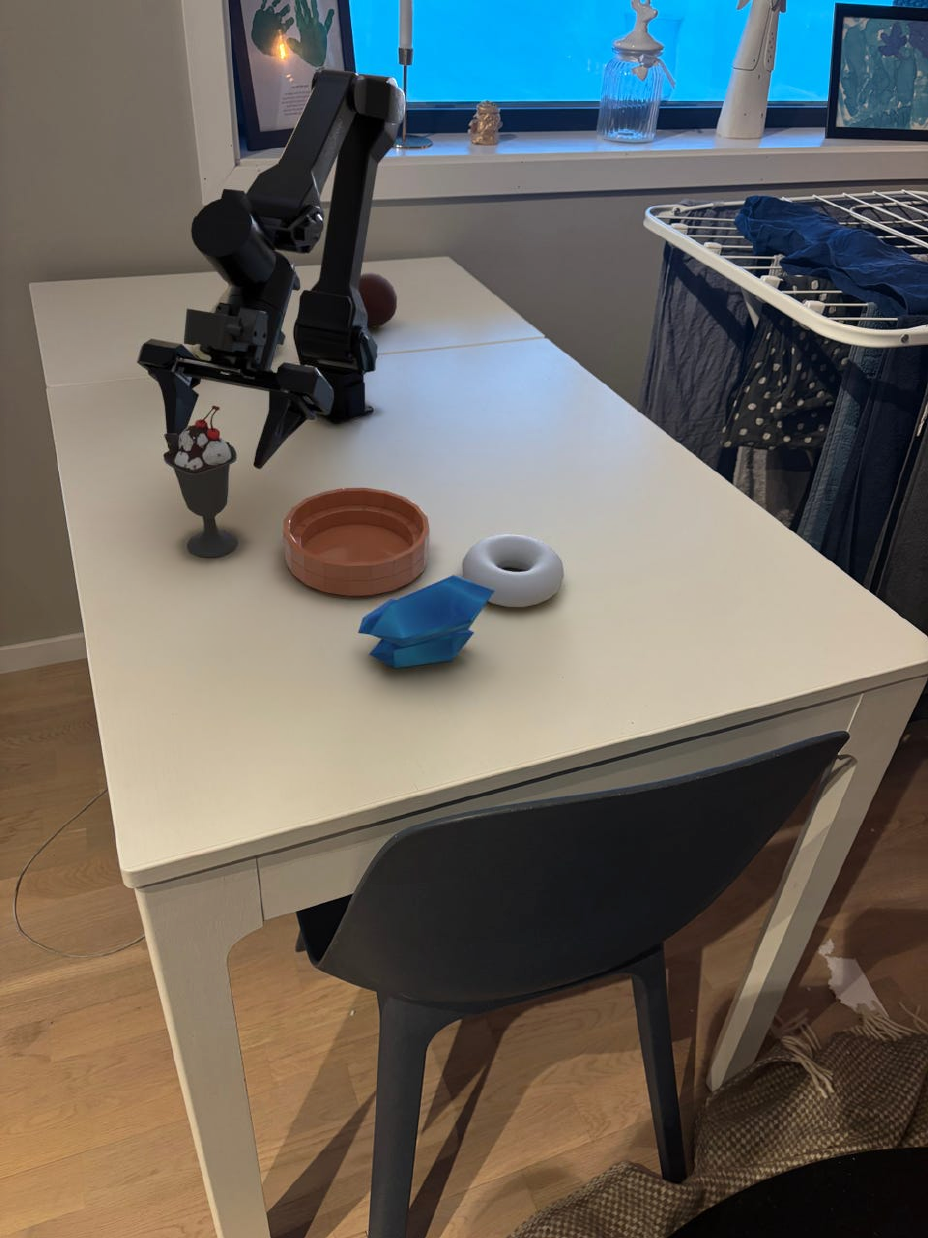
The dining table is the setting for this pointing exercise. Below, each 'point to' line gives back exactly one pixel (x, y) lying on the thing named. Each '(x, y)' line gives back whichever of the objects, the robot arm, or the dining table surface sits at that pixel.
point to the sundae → (203, 482)
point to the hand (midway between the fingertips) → (213, 458)
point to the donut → (519, 553)
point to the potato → (377, 298)
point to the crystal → (426, 623)
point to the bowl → (356, 541)
